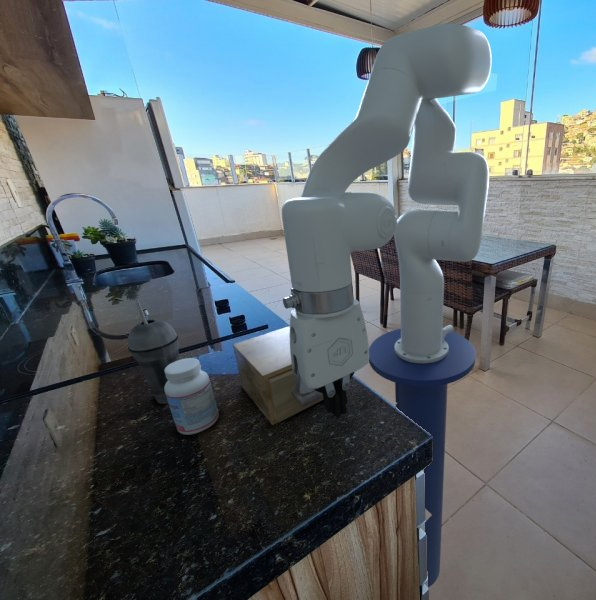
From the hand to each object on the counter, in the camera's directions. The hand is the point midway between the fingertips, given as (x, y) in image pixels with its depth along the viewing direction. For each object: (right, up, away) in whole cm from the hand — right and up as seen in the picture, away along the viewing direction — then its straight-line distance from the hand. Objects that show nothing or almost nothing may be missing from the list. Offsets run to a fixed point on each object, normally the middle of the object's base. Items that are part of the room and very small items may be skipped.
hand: (336, 411), depth 48 cm
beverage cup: (-34, -2, +13) cm, 36 cm away
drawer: (-9, -1, +11) cm, 14 cm away
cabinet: (-12, -1, +14) cm, 18 cm away
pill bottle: (-24, -4, +6) cm, 25 cm away
